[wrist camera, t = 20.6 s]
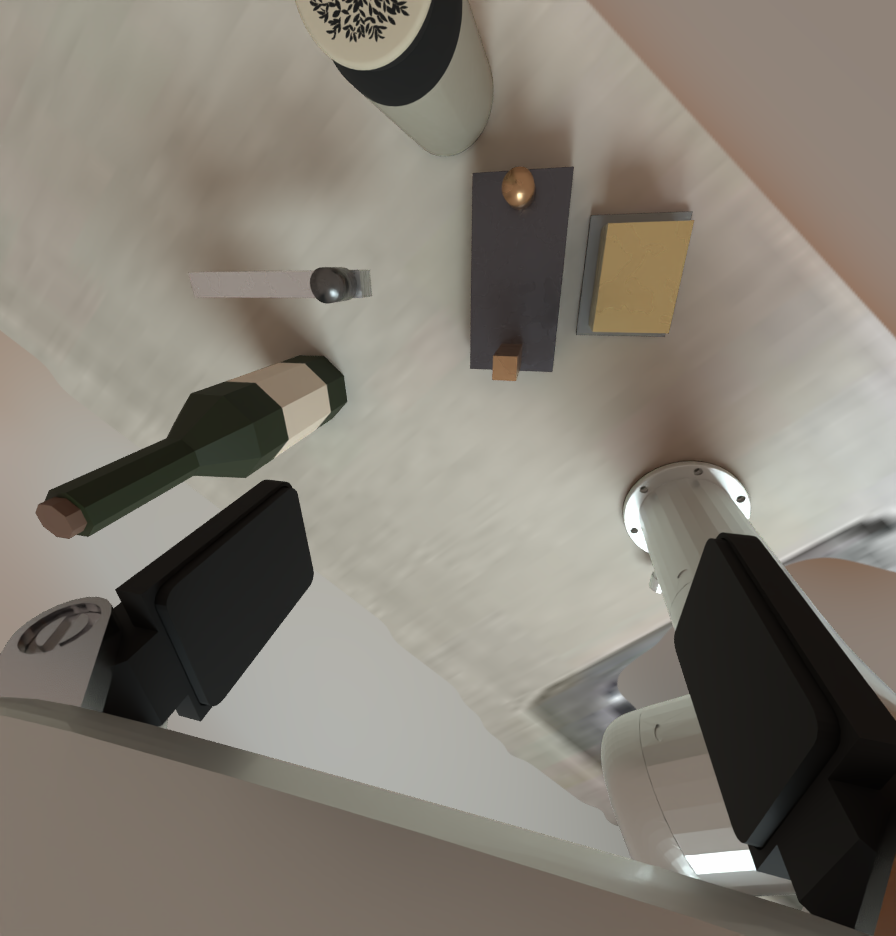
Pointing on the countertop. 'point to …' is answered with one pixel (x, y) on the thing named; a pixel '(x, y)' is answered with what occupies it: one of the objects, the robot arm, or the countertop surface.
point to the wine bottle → (205, 443)
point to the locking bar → (285, 284)
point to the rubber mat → (592, 254)
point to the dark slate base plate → (517, 268)
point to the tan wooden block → (638, 276)
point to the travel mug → (410, 64)
